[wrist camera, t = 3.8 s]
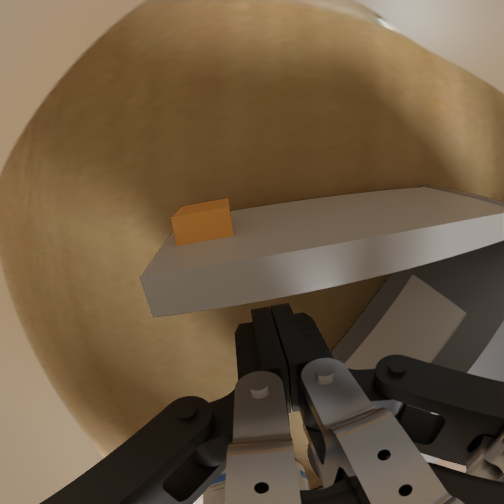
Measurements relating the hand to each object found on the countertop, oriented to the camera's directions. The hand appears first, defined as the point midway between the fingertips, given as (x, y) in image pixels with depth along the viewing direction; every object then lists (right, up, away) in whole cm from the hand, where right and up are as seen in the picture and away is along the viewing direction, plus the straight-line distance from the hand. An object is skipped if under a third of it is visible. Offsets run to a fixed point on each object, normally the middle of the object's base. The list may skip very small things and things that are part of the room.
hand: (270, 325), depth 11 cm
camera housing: (+9, -3, +5) cm, 10 cm away
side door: (+3, +5, +1) cm, 6 cm away
